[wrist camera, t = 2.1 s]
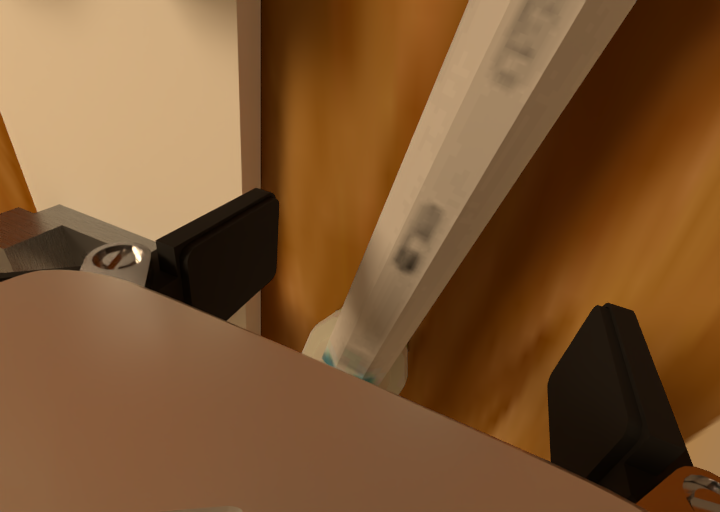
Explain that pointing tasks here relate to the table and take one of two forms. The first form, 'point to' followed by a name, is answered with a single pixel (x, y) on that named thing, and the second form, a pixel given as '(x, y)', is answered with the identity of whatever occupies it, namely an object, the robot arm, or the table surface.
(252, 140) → the stand board
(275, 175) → the table surface
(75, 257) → the v blocks
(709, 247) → the table surface
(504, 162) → the white handheld device
